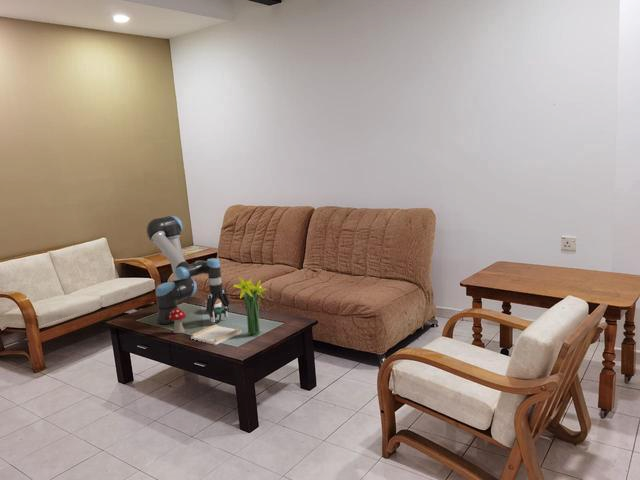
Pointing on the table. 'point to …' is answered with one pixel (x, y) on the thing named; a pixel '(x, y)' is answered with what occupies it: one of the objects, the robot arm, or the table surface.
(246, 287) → the daffodil flowers
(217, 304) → the lidded jar
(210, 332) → the display riser
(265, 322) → the table surface
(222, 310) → the binoculars
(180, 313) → the decorative mushroom
